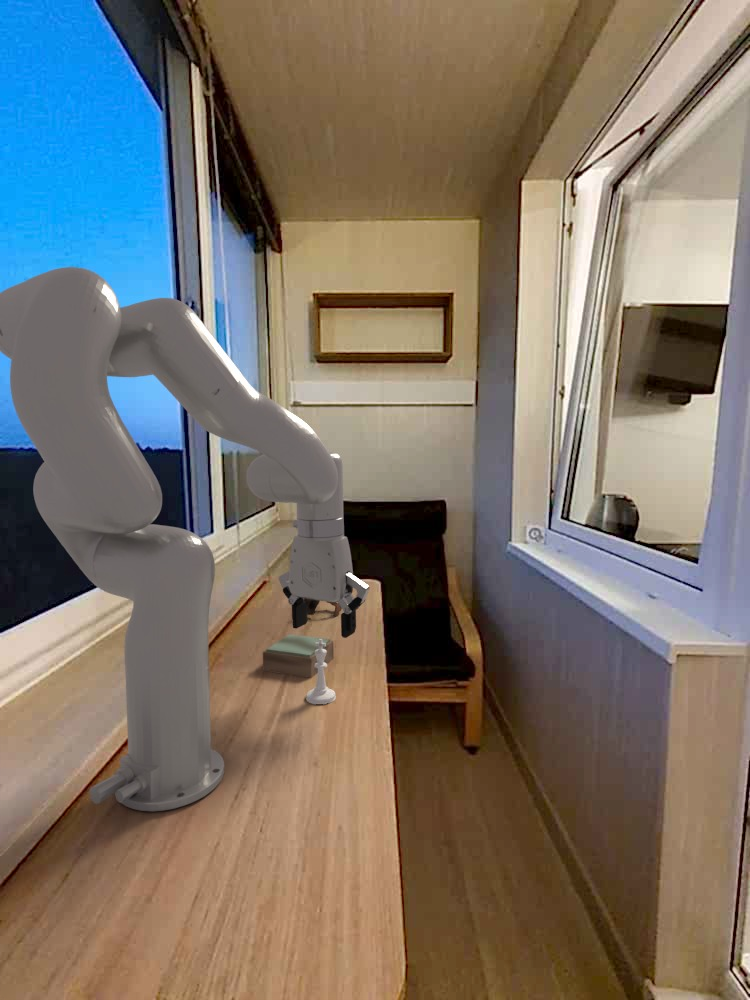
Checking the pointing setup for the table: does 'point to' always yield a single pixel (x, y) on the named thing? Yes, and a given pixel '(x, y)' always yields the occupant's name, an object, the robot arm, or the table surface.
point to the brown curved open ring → (313, 604)
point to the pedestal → (295, 655)
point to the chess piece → (320, 680)
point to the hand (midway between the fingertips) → (323, 630)
